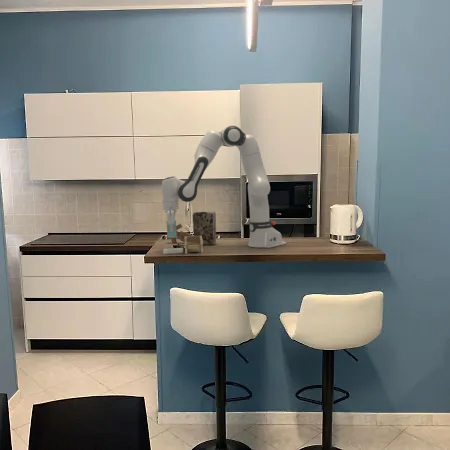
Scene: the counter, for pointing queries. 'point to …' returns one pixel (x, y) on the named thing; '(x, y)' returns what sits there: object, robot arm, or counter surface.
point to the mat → (173, 250)
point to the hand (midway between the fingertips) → (171, 230)
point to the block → (171, 234)
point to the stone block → (205, 226)
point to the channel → (193, 244)
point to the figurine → (180, 234)
